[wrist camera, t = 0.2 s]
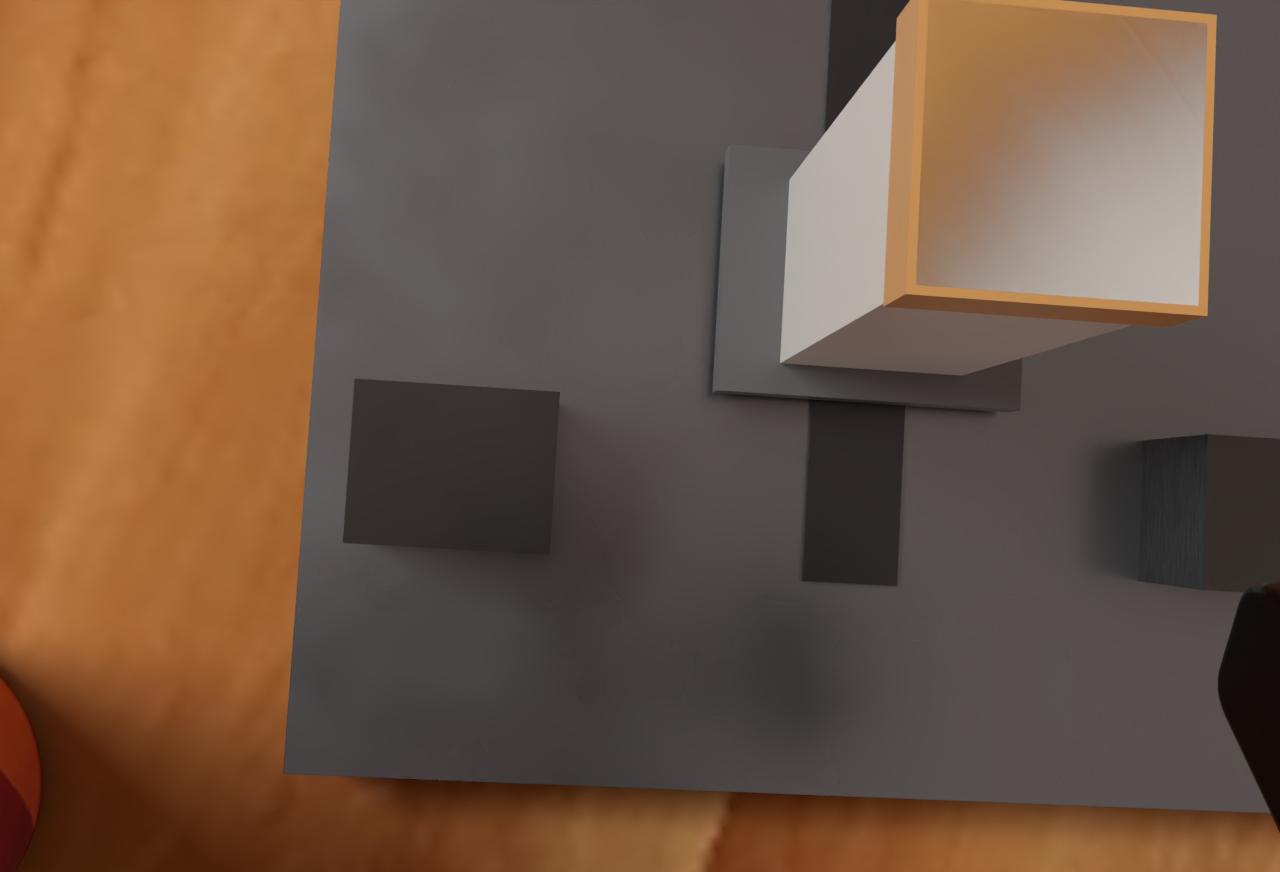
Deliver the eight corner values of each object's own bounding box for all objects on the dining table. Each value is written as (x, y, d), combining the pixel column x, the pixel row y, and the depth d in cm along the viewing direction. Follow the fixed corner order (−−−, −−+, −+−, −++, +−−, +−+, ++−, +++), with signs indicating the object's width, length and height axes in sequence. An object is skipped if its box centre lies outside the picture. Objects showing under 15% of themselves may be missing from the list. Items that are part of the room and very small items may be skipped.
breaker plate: (1282, 788, 22) (1443, 851, 18) (308, 747, 21) (251, 806, 17) (1303, 8, 23) (1462, -95, 19) (369, -80, 22) (328, -211, 18)
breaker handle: (1008, 412, 20) (1289, 360, 12) (712, 392, 19) (816, 326, 12) (1018, 177, 20) (1298, -14, 13) (725, 152, 20) (836, -59, 12)
